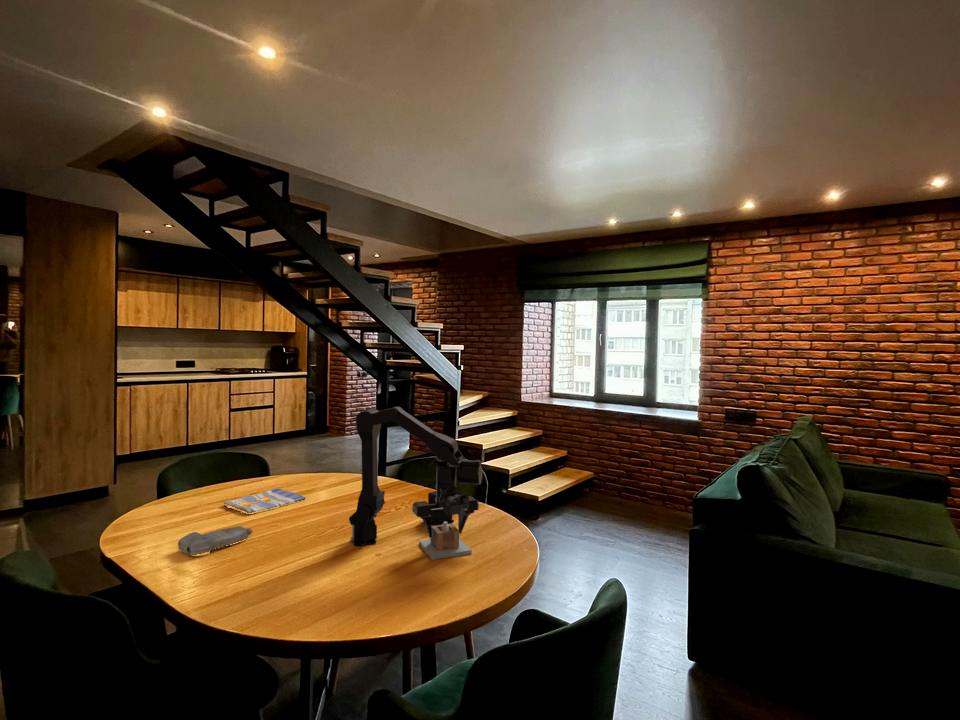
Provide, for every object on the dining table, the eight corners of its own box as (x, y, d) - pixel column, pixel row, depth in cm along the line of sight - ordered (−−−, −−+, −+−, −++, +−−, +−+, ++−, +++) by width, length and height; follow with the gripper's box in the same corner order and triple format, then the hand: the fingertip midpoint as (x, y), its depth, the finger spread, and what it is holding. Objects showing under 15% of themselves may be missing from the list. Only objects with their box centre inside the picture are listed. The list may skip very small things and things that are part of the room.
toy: (448, 533, 161) (448, 502, 161) (420, 522, 171) (421, 492, 171) (465, 528, 166) (466, 497, 166) (438, 517, 176) (438, 488, 176)
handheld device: (260, 539, 154) (260, 524, 154) (191, 561, 138) (191, 544, 138) (243, 532, 160) (243, 517, 160) (175, 552, 144) (175, 536, 144)
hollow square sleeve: (430, 542, 151) (430, 526, 150) (451, 539, 153) (451, 523, 153) (437, 551, 145) (437, 533, 144) (459, 547, 147) (459, 530, 147)
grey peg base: (431, 559, 141) (431, 531, 141) (419, 544, 152) (419, 518, 152) (471, 553, 146) (472, 526, 146) (456, 538, 157) (457, 513, 157)
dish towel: (220, 508, 184) (221, 500, 184) (279, 493, 203) (279, 486, 203) (247, 517, 174) (247, 509, 174) (306, 501, 193) (306, 494, 193)
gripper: (423, 492, 137) (422, 550, 138) (486, 486, 145) (485, 540, 145) (412, 482, 148) (411, 535, 148) (471, 476, 155) (470, 527, 155)
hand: (445, 535), depth 149 cm, fingers open, 9 cm apart
